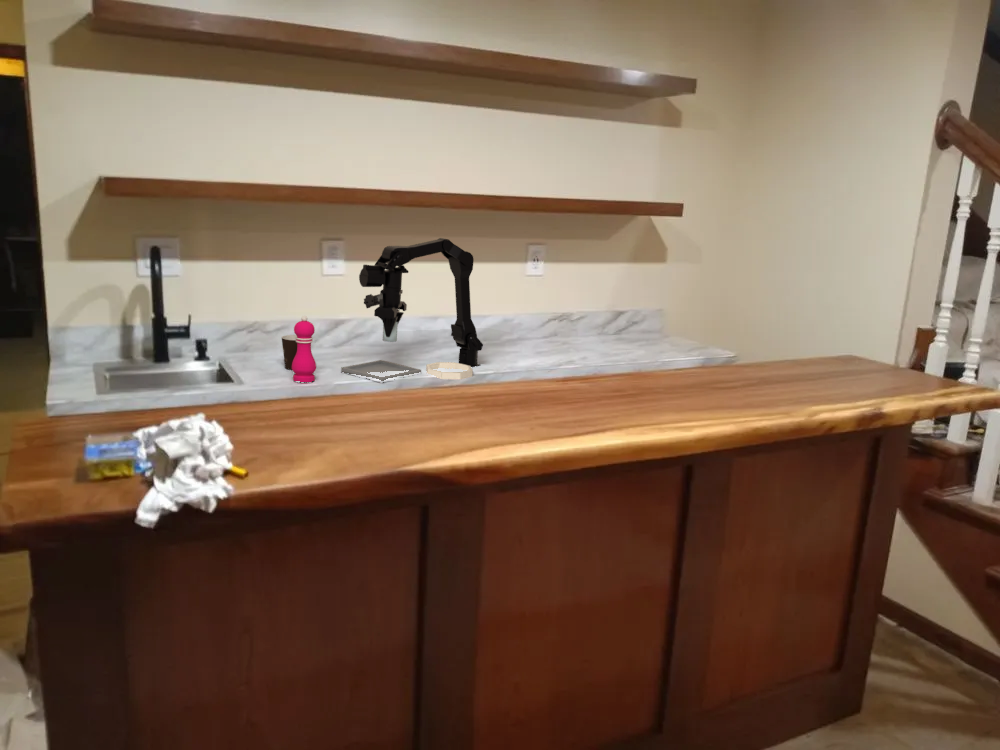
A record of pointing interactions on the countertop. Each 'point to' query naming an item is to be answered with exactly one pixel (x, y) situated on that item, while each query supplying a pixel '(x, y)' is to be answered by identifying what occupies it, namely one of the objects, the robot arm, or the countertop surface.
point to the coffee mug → (289, 350)
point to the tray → (378, 369)
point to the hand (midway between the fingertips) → (389, 335)
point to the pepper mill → (304, 352)
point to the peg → (393, 335)
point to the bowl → (449, 374)
